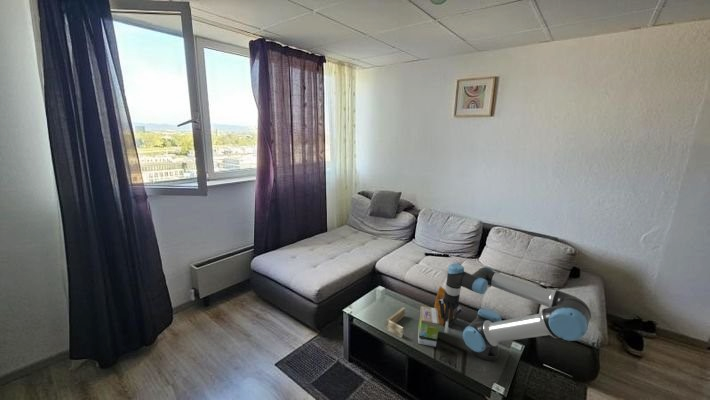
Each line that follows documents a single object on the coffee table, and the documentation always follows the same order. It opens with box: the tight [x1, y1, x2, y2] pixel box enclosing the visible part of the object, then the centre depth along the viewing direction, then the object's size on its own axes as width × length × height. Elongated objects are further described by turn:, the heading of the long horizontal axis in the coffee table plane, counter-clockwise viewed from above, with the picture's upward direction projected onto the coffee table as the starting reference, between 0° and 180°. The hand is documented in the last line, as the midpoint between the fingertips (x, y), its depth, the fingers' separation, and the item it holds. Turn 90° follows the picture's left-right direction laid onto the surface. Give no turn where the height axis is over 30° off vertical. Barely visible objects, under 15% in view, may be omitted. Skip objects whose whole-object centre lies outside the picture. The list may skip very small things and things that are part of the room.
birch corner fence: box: [384, 306, 406, 338], centre depth 173 cm, size 11×19×6 cm, turn 140°
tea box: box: [417, 305, 440, 348], centre depth 164 cm, size 15×10×15 cm, turn 168°
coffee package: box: [433, 286, 456, 327], centre depth 179 cm, size 10×12×22 cm
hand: (446, 331), depth 157 cm, fingers closed
